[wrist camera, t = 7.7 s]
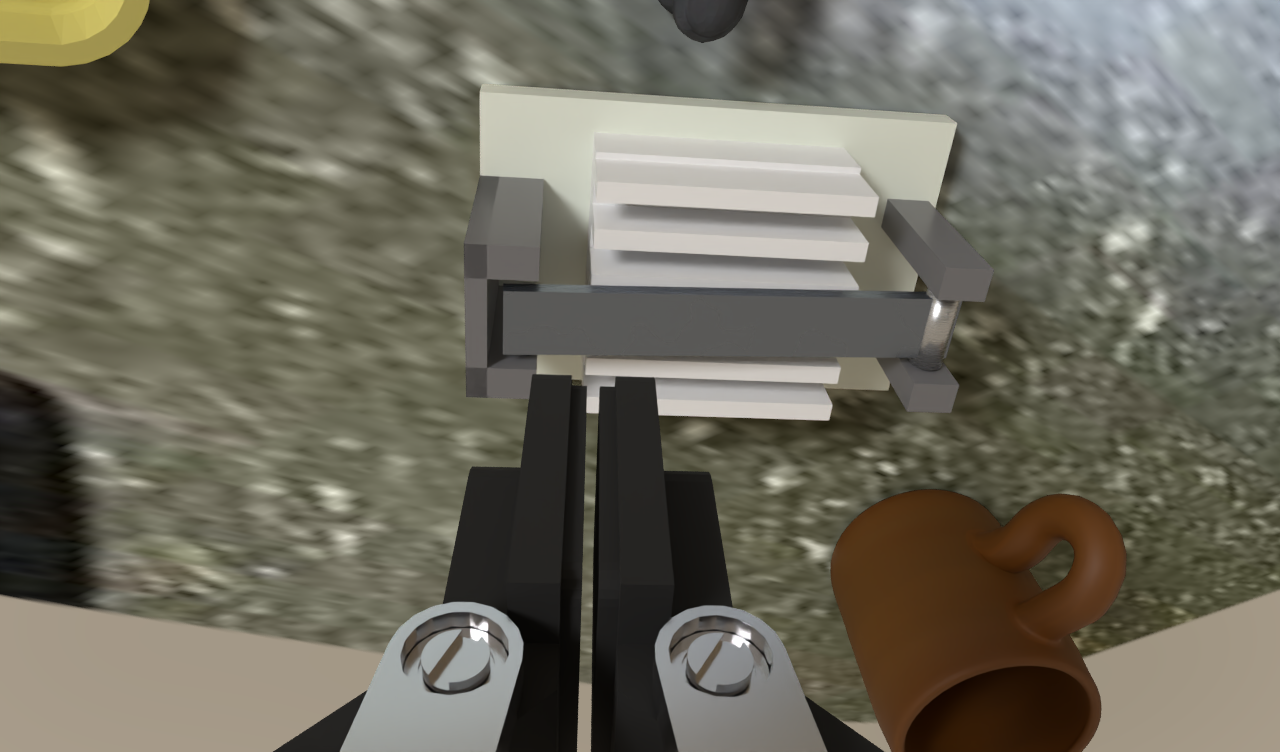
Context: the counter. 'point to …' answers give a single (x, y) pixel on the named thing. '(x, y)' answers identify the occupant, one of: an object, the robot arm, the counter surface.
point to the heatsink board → (709, 233)
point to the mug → (976, 620)
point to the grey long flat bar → (726, 322)
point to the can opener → (705, 17)
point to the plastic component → (66, 29)
